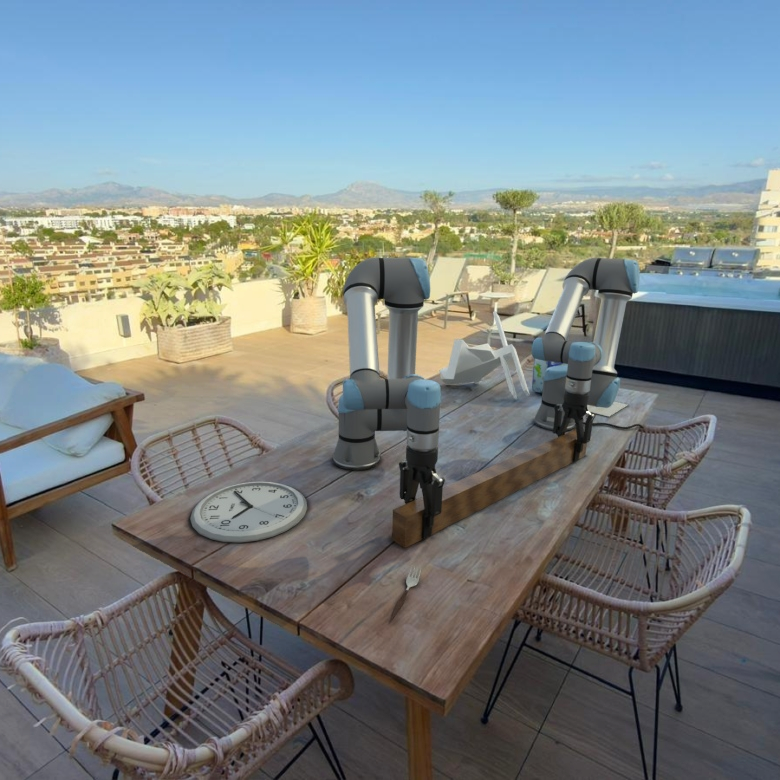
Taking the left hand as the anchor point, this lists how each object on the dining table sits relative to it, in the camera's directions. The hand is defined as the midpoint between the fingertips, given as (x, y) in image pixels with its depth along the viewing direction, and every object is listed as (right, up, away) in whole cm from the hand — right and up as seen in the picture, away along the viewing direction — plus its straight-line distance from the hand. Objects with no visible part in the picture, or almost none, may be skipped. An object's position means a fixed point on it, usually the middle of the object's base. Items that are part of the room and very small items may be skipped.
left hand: (418, 531), depth 130 cm
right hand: (+52, +13, +44) cm, 69 cm away
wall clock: (-44, +3, +9) cm, 45 cm away
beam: (+26, +6, +22) cm, 35 cm away
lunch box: (+70, +35, +117) cm, 141 cm away
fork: (-4, -7, -22) cm, 24 cm away
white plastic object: (+34, +34, +113) cm, 123 cm away
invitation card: (+84, +28, +96) cm, 131 cm away
